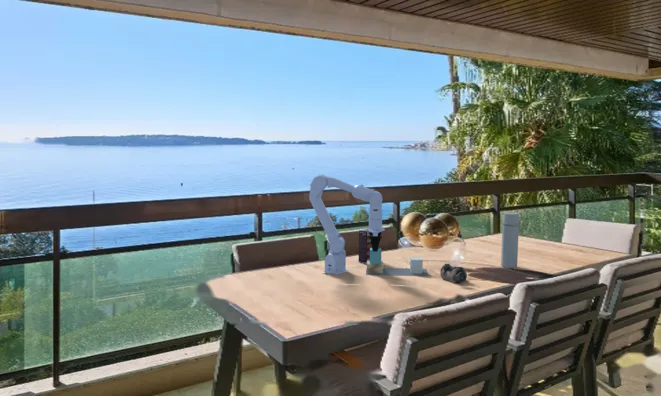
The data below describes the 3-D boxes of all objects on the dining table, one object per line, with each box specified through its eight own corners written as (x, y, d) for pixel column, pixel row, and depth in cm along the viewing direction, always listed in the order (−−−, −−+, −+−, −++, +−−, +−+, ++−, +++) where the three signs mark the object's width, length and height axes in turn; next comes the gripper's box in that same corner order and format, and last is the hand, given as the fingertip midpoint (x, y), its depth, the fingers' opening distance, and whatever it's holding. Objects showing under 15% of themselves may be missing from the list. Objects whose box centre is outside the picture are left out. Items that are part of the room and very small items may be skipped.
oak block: (366, 273, 220) (367, 264, 220) (367, 269, 227) (367, 260, 227) (383, 273, 220) (383, 264, 219) (382, 269, 227) (382, 260, 226)
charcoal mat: (365, 276, 218) (365, 274, 218) (366, 268, 231) (366, 267, 230) (429, 277, 215) (429, 276, 215) (426, 270, 228) (426, 268, 228)
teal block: (369, 263, 221) (369, 250, 220) (369, 261, 226) (370, 247, 225) (381, 263, 220) (381, 250, 220) (381, 261, 225) (381, 248, 225)
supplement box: (366, 264, 239) (366, 231, 237) (358, 263, 242) (358, 230, 240) (376, 261, 246) (376, 229, 244) (367, 259, 249) (368, 228, 247)
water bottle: (519, 269, 230) (521, 214, 227) (501, 268, 232) (503, 214, 229) (516, 264, 239) (518, 212, 236) (498, 263, 241) (500, 211, 238)
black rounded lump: (441, 278, 216) (433, 282, 207) (442, 261, 215) (434, 265, 207) (469, 282, 210) (462, 287, 201) (470, 265, 209) (462, 269, 201)
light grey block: (410, 273, 220) (411, 259, 219) (410, 270, 225) (410, 257, 224) (422, 273, 220) (422, 260, 219) (421, 270, 225) (421, 257, 224)
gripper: (384, 221, 214) (384, 253, 215) (384, 216, 228) (384, 246, 229) (368, 221, 214) (368, 252, 216) (368, 216, 229) (368, 246, 230)
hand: (375, 249), depth 222 cm, fingers open, 7 cm apart
